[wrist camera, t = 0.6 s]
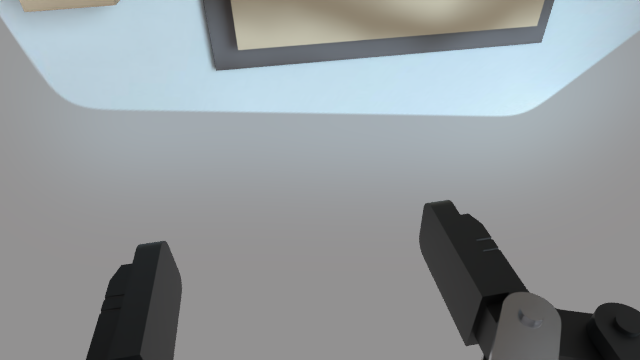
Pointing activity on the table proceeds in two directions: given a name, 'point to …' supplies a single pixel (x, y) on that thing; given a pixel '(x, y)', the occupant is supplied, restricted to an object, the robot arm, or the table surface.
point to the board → (355, 47)
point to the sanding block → (63, 4)
